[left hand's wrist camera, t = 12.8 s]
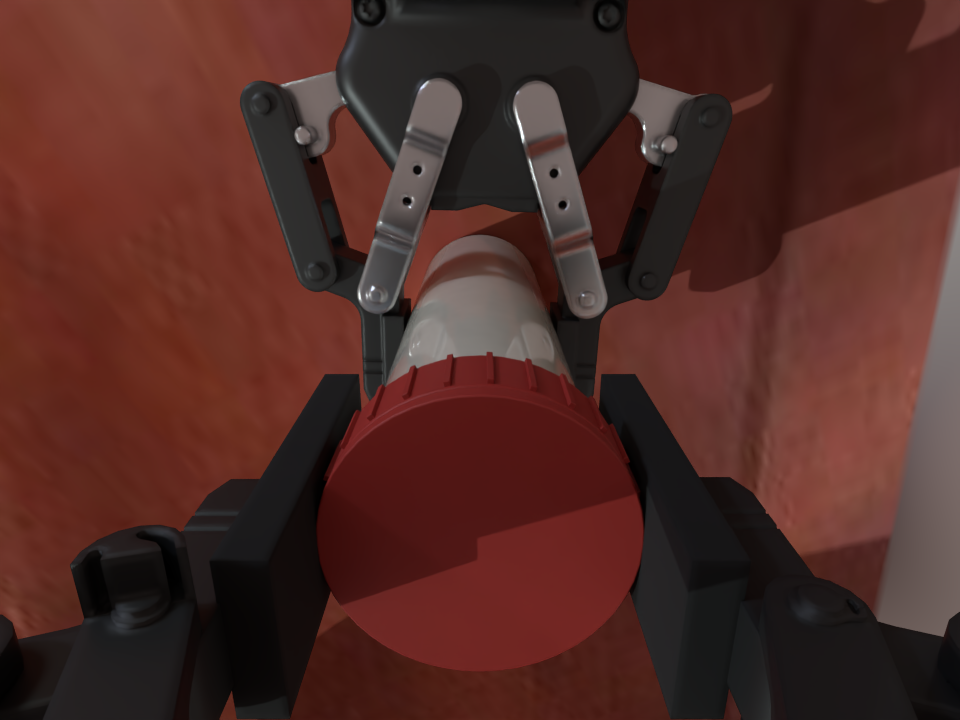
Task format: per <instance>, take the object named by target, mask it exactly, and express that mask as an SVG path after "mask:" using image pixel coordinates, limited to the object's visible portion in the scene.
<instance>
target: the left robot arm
mask: <svg viewBox="0 0 960 720" xmlns="http://www.w3.org/2000/svg"><path fill="white" fill-rule="evenodd" d="M356 410H358V411H360V412H361V397H360V383H359V374H325V375H324V377H323V379H322V380H321V382H320V383H319V385H318V387H317V388H316V390H315V392H314V393H313V395H312V396H311V398H310V400H309V401H308V403H307V404H306V406H305V408H304V409H303V411H302V412H301V414H300V416H299V417H298V419H297V420H296V422H295V424H294V425H293V427H292V428H291V430H290V432H289V433H288V435H287V437H286V438H285V440H284V441H283V443H282V445H281V446H280V448H279V449H278V451H277V453H276V454H275V456H274V457H273V459H272V461H271V462H270V464H269V465H268V467H267V469H266V470H265V472H264V473H263V475H262V477H261V478H260V479H231V480H229V481H228V482H226V483H225V484H223V485H222V486H220V487H219V488H217V489H216V490H214V491H213V492H211V493H210V494H208V496H207V497H206V498H205V500H204V501H203V503H202V504H201V505H200V507H199V508H198V509H197V511H196V512H195V516H192V517H191V519H190V520H189V522H188V523H187V524H186V526H185V527H184V531H181V532H179V531H178V530H177V529H176V528H172V527H167V526H163V525H146V526H137V527H133V528H129V529H125V530H120V531H117V532H115V533H113V534H110V535H108V536H106V537H103V538H101V539H99V540H97V541H95V542H94V543H93V544H91V545H90V546H88V547H87V548H85V549H84V550H82V551H81V552H80V553H79V554H78V556H77V557H76V558H75V559H74V560H73V562H72V563H71V564H70V567H71V571H72V574H73V578H74V582H75V585H76V589H77V593H78V597H79V600H80V604H81V608H82V612H83V615H84V620H83V623H82V625H78V626H75V627H71V628H68V629H63V630H59V631H54V632H50V633H45V634H41V635H36V636H32V637H27V638H23V639H17V636H16V633H15V630H14V626H13V623H12V622H11V621H10V620H8V619H7V618H6V617H5V616H3V615H0V720H219V718H220V716H221V714H222V711H223V709H224V707H225V705H226V702H227V700H228V698H229V695H230V693H231V691H232V694H233V699H234V705H235V711H236V716H237V719H290V717H291V714H292V710H293V707H294V704H295V701H296V698H297V695H298V692H299V689H300V685H301V682H302V679H303V676H304V673H305V670H306V667H307V664H308V660H309V657H310V654H311V651H312V648H313V645H314V642H315V639H316V636H317V632H318V629H319V626H320V623H321V620H322V617H323V614H324V611H325V607H326V604H327V601H328V598H329V595H330V592H331V590H330V588H329V586H328V584H327V582H326V580H325V577H324V574H323V571H322V568H321V565H320V562H319V555H318V546H317V536H316V521H317V513H318V507H319V503H320V500H321V497H322V493H323V490H324V487H325V485H326V483H327V481H325V480H323V478H324V475H325V473H326V471H327V469H328V466H329V464H330V462H331V460H332V457H333V455H334V453H335V451H336V448H337V446H338V444H339V442H340V440H343V438H344V436H345V433H346V431H347V429H348V426H349V424H350V422H351V420H352V417H353V415H354V413H355V412H356ZM599 411H600V413H601V414H602V416H603V418H604V419H605V421H606V422H607V424H608V425H610V424H613V425H614V427H615V429H616V432H617V434H618V436H619V438H620V441H621V443H622V445H623V447H624V449H625V452H626V454H627V456H628V458H629V461H630V462H629V463H628V464H629V467H630V469H631V471H632V473H633V476H634V478H635V480H636V483H637V485H638V487H639V489H640V497H639V498H640V502H641V505H642V509H643V517H644V540H643V550H642V558H641V564H640V567H639V569H638V572H637V575H636V578H635V581H634V583H633V585H632V587H631V588H630V590H629V591H630V594H631V597H632V600H633V603H634V606H635V609H636V612H637V616H638V619H639V622H640V625H641V628H642V631H643V634H644V637H645V641H646V644H647V647H648V650H649V653H650V656H651V659H652V662H653V665H654V669H655V672H656V675H657V678H658V681H659V684H660V687H661V690H662V694H663V697H664V700H665V703H666V706H667V709H668V712H669V715H670V719H724V713H725V707H726V702H727V696H728V690H729V689H730V691H731V694H732V696H733V698H734V700H735V703H736V705H737V707H738V709H739V712H740V714H741V720H960V612H959V613H957V614H956V615H955V616H953V617H952V618H951V619H950V620H949V622H948V625H947V628H946V631H945V634H944V637H941V636H936V635H932V634H927V633H923V632H918V631H913V630H909V629H905V628H900V627H895V626H892V625H888V624H885V623H881V622H878V621H877V619H876V617H875V616H874V614H873V613H872V611H871V610H870V609H869V607H868V606H867V604H866V603H865V602H863V601H862V600H861V599H860V598H858V597H857V596H856V595H855V594H853V593H852V592H851V591H849V590H847V589H845V588H843V587H841V586H839V585H837V584H835V583H833V582H831V581H828V580H824V579H821V578H817V577H815V576H814V575H813V574H812V572H811V571H810V570H809V568H808V567H807V565H806V564H805V563H804V561H803V560H802V559H801V557H800V556H799V555H798V553H797V552H796V551H795V549H794V548H793V547H792V545H791V544H790V543H789V541H788V540H787V539H786V537H785V536H784V534H783V533H782V532H781V530H780V529H777V527H776V526H777V525H776V524H775V522H774V521H773V520H772V518H771V517H770V516H769V514H766V510H765V509H764V507H763V506H762V505H761V503H760V502H759V501H758V499H757V498H756V497H755V495H754V494H753V493H752V492H751V491H749V490H748V489H746V488H745V487H743V486H742V485H741V484H739V483H738V482H736V481H735V480H733V479H732V478H730V477H699V476H698V474H697V473H696V471H695V470H694V468H693V466H692V465H691V463H690V462H689V460H688V458H687V457H686V455H685V454H684V452H683V450H682V449H681V447H680V445H679V444H678V442H677V441H676V439H675V437H674V436H673V434H672V433H671V431H670V429H669V428H668V426H667V425H666V423H665V421H664V420H663V418H662V417H661V415H660V413H659V412H658V410H657V409H656V407H655V405H654V404H653V402H652V401H651V399H650V397H649V396H648V394H647V392H646V391H645V389H644V388H643V386H642V384H641V383H640V381H639V380H638V378H637V376H636V375H635V374H601V389H600V403H599Z"/></svg>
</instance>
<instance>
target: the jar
mask: <svg viewBox="0 0 960 720" xmlns="http://www.w3.org/2000/svg"><path fill="white" fill-rule="evenodd" d="M487 352H493V356H500V357H506V358H511V359H516V360H521V361H524V362H525V359H526V358H528V359H531V360H532V364H533V365H536V366H540V367H542V368H544V369H546V370H548V371H550V372H552V373H554V374H556V375H558V376H560V374H561V373H563V374H564V375H566V376H567V379H568V382H569V383H570V384H572V385H574V386H575V387H576V385H575V382H574V380H573V377H572V374H571V371H570V369H569V366H568V363H567V361H566V358H565V355H564V352H563V350H562V347H561V344H560V342H559V339H558V336H557V333H556V331H555V328H554V325H553V323H552V320H551V317H550V314H549V312H548V309H547V306H546V304H545V301H544V298H543V295H542V293H541V290H540V287H539V285H538V282H537V279H536V276H535V274H534V271H533V269H532V267H531V265H530V263H529V261H528V260H527V258H526V257H525V256H524V255H523V253H522V252H521V251H520V250H518V249H517V248H516V247H515V246H513V245H512V244H510V243H509V242H507V241H505V240H503V239H500V238H497V237H493V236H489V235H472V236H467V237H463V238H460V239H457V240H455V241H453V242H451V243H450V244H448V245H447V246H445V247H444V248H443V249H442V250H441V251H439V252H438V254H437V255H436V256H435V257H434V258H433V260H432V262H431V263H430V265H429V267H428V269H427V271H426V274H425V277H424V280H423V282H422V285H421V288H420V291H419V293H418V296H417V299H416V301H415V304H414V307H413V310H412V312H411V315H410V318H409V321H408V323H407V326H406V329H405V331H404V334H403V337H402V340H401V342H400V345H399V348H398V351H397V353H396V356H395V359H394V361H393V364H392V367H391V370H390V372H389V375H388V378H387V380H386V383H385V387H386V386H387V385H388V384H390V383H391V382H393V381H395V380H396V379H398V378H399V377H401V376H402V375H404V374H406V373H408V372H409V369H410V367H411V366H413V365H415V366H416V367H417V368H419V367H421V366H424V365H427V364H430V363H433V362H436V361H440V360H444V359H447V355H449V354H453V357H454V358H455V357H460V356H476V355H485V356H486V353H487Z"/></svg>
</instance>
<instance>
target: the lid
mask: <svg viewBox="0 0 960 720" xmlns="http://www.w3.org/2000/svg"><path fill="white" fill-rule="evenodd" d="M629 462H630V461H629V458H628V456H627V454H626V452H625V449H624V447H623V445H622V443H621V441H620V438H619V436H618V434H617V432H616V429H615V427H614V425H613V424H610V425H608V424H607V422H606V421H605V419H604V418H603V416H602V414H601V413H600V411H599V408H598V406H597V404H596V401H595V399H594V398H593V397H592V396H590V397H589V398H587V397H586V396H585V395H584V394H583V393H582V392H580V391H579V390H578V389H577V388H576V387H575V386H574V385H572V384H570V383H569V382H568V379H567V376H566V375H564V374H563V373H561V374H560V376H558V375H556V374H554V373H552V372H550V371H548V370H546V369H544V368H542V367H540V366H536V365H533V364H532V360H531V359H528V358H526V359H525V362H524V361H521V360H516V359H511V358H506V357H500V356H493V352H487V353H486V356H485V355H476V356H460V357H455V358H454V357H453V354H449V355H447V359H444V360H440V361H436V362H433V363H430V364H427V365H424V366H421V367H419V368H417V367H416V366H415V365H413V366H411V367H410V369H409V372H408V373H406V374H404V375H402V376H401V377H399V378H398V379H396V380H395V381H393V382H391V383H390V384H388V385H387V386H386V387H385V386H384V385H383V384H382V385H380V386H379V387H378V389H377V392H376V395H375V396H374V397H373V398H372V399H371V400H370V402H369V403H368V404H367V405H366V406H365V407H364V408H363V409H362V411H361V412H360V411H358V410H356V412H355V413H354V415H353V417H352V420H351V422H350V424H349V426H348V429H347V431H346V433H345V436H344V438H343V440H340V442H339V444H338V446H337V448H336V451H335V453H334V455H333V457H332V460H331V462H330V464H329V466H328V469H327V471H326V473H325V475H324V478H323V480H325V481H327V483H326V485H325V487H324V490H323V493H322V497H321V500H320V503H319V507H318V513H317V521H316V536H317V546H318V555H319V562H320V565H321V568H322V571H323V574H324V577H325V580H326V582H327V584H328V586H329V588H330V590H331V592H332V594H333V595H334V597H335V598H336V600H337V601H338V603H339V604H340V606H341V607H342V608H343V610H344V611H345V612H346V613H347V614H348V616H349V617H350V618H351V619H352V620H353V621H354V622H355V623H356V624H357V625H358V626H359V627H360V628H361V629H363V630H364V631H365V632H366V633H367V634H368V635H370V636H371V637H372V638H374V639H375V640H377V641H378V642H380V643H381V644H383V645H384V646H386V647H388V648H390V649H392V650H394V651H396V652H397V653H399V654H401V655H403V656H406V657H409V658H411V659H414V660H416V661H419V662H422V663H426V664H429V665H433V666H437V667H441V668H447V669H453V670H460V671H478V672H481V671H500V670H507V669H514V668H519V667H523V666H527V665H531V664H535V663H539V662H541V661H544V660H547V659H549V658H552V657H555V656H557V655H559V654H561V653H563V652H565V651H567V650H569V649H571V648H573V647H574V646H576V645H577V644H579V643H580V642H582V641H584V640H585V639H587V638H588V637H589V636H591V635H592V634H593V633H594V632H595V631H597V630H598V629H599V628H600V627H601V626H603V625H604V624H605V622H606V621H607V620H608V619H609V618H610V617H611V616H612V615H613V614H614V613H615V612H616V610H617V609H618V608H619V606H620V605H621V603H622V602H623V601H624V599H625V598H626V596H627V594H628V592H629V590H630V588H631V587H632V585H633V583H634V581H635V578H636V575H637V572H638V569H639V567H640V564H641V558H642V550H643V540H644V517H643V509H642V505H641V502H640V498H639V497H640V489H639V487H638V485H637V483H636V480H635V478H634V476H633V473H632V471H631V469H630V467H629V464H628V463H629Z"/></svg>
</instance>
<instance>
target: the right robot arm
mask: <svg viewBox="0 0 960 720" xmlns="http://www.w3.org/2000/svg"><path fill="white" fill-rule="evenodd" d="M351 5H352V17H351V25H350V30H349V34H348V38H347V41H346V43H345V46H344V48H343V50H342V52H341V54H340V56H339V58H338V61H337V65H336V71H333V72H329V73H325V74H321V75H317V76H313V77H309V78H306V79H302V80H298V81H294V82H290V83H286V84H282V85H280V84H275V83H270V82H265V81H254V82H252V83H250V84H248V85H247V86H246V87H245V88H244V90H243V91H242V94H241V97H240V106H241V110H242V113H243V116H244V119H245V122H246V125H247V128H248V131H249V134H250V137H251V140H252V143H253V146H254V149H255V152H256V155H257V158H258V161H259V164H260V167H261V170H262V173H263V176H264V179H265V182H266V185H267V188H268V191H269V194H270V197H271V200H272V203H273V206H274V209H275V212H276V215H277V218H278V221H279V224H280V227H281V230H282V233H283V236H284V239H285V242H286V245H287V248H288V251H289V254H290V257H291V260H292V263H293V266H294V269H295V272H296V275H297V278H298V280H299V282H300V283H301V284H302V285H303V286H304V287H305V288H307V289H308V290H311V291H315V292H321V291H328V292H331V293H333V294H336V295H339V296H342V297H344V298H346V299H348V300H350V301H351V302H352V303H353V304H354V305H355V306H356V307H357V309H358V311H359V313H360V316H361V330H362V354H363V372H364V373H363V378H364V390H365V392H366V394H367V396H368V399H369V401H370V400H371V399H372V398H373V397H374V396H375V395H376V392H377V389H378V387H379V386H380V385H382V384H383V385H384V386H385V383H386V380H387V378H388V375H389V372H390V370H391V367H392V364H393V361H394V359H395V356H396V353H397V351H398V348H399V345H400V342H401V340H402V337H403V334H404V331H405V329H406V326H407V323H408V321H409V318H410V315H411V299H407V298H404V283H405V281H406V278H407V275H408V272H409V269H410V266H411V263H412V261H413V258H414V255H415V252H416V249H417V246H418V243H419V240H420V238H421V235H422V232H423V230H424V227H425V224H426V222H427V219H428V216H429V213H430V210H461V209H465V208H469V207H473V206H477V205H481V204H487V205H491V206H494V207H497V208H501V209H504V210H507V211H511V212H537V215H538V219H539V222H540V225H541V228H542V232H543V234H544V237H545V240H546V243H547V247H548V250H549V254H550V257H551V261H552V264H553V267H554V271H555V274H556V278H557V281H558V285H559V286H558V301H557V303H556V302H551V304H550V317H551V320H552V323H553V325H554V328H555V331H556V333H557V336H558V339H559V342H560V344H561V347H562V350H563V352H564V355H565V358H566V361H567V363H568V366H569V369H570V371H571V374H572V377H573V380H574V382H575V385H576V388H577V389H578V390H579V391H580V392H582V393H583V394H584V395H585V396H586V397H587V398H589V397H590V396H593V395H594V384H595V373H596V362H597V351H598V340H599V329H600V323H601V320H602V318H603V316H604V314H605V313H606V312H607V311H608V310H609V309H610V308H612V307H613V306H615V305H618V304H620V303H624V302H627V301H630V300H633V299H636V298H638V299H641V300H653V299H656V298H657V297H659V296H660V295H662V294H663V293H664V291H665V290H666V288H667V286H668V283H669V281H670V278H671V276H672V273H673V270H674V268H675V265H676V263H677V260H678V258H679V255H680V252H681V250H682V247H683V245H684V242H685V240H686V237H687V234H688V232H689V229H690V227H691V224H692V221H693V219H694V216H695V214H696V211H697V209H698V206H699V203H700V201H701V198H702V196H703V193H704V191H705V188H706V185H707V183H708V180H709V178H710V175H711V173H712V170H713V167H714V165H715V162H716V160H717V157H718V155H719V152H720V149H721V147H722V144H723V142H724V139H725V137H726V134H727V131H728V129H729V126H730V124H731V121H732V108H731V105H730V103H729V102H728V100H727V99H726V98H724V97H723V96H721V95H718V94H698V95H690V94H687V93H684V92H680V91H677V90H674V89H671V88H668V87H664V86H661V85H658V84H655V83H652V82H648V81H645V80H642V79H639V71H638V67H637V64H636V61H635V59H634V57H633V54H632V52H631V49H630V45H629V41H628V36H627V23H626V22H627V9H628V0H351ZM346 107H347V109H348V110H349V112H350V113H351V114H352V116H353V117H354V119H355V120H356V121H357V123H358V124H359V126H360V127H361V128H362V130H363V131H364V133H365V134H366V136H367V137H368V138H369V140H370V141H371V143H372V144H373V145H374V147H375V148H376V150H377V151H378V152H379V154H380V155H381V157H382V158H383V160H384V161H385V162H386V164H387V165H388V167H389V168H390V169H391V171H392V172H393V175H392V178H391V181H390V184H389V187H388V190H387V193H386V196H385V200H384V203H383V206H382V209H381V212H380V215H379V218H378V221H377V225H376V228H375V235H374V239H373V242H372V245H371V249H370V252H369V255H367V254H365V253H362V252H360V251H357V250H354V249H352V248H349V245H348V242H347V238H346V235H345V232H344V228H343V225H342V222H341V218H340V215H339V212H338V208H337V205H336V202H335V198H334V195H333V192H332V188H331V185H330V182H329V178H328V175H327V172H326V168H325V165H324V162H323V158H322V155H324V154H327V153H328V152H329V151H331V149H332V148H333V147H334V145H335V142H336V131H335V122H336V118H337V116H338V114H339V113H340V112H341V111H342V110H343V109H344V108H346ZM626 115H628V116H629V117H630V118H631V119H632V120H633V121H634V123H635V126H636V131H637V134H636V140H635V150H636V153H637V155H638V157H639V158H640V159H641V160H642V161H644V162H646V163H648V165H647V168H646V170H645V173H644V176H643V179H642V182H641V184H640V187H639V190H638V193H637V196H636V199H635V201H634V204H633V207H632V210H631V213H630V216H629V218H628V221H627V224H626V227H625V230H624V233H623V235H622V238H621V241H620V244H619V247H618V249H617V252H616V254H614V255H611V256H608V257H605V258H602V259H599V260H598V259H597V255H596V251H595V247H594V243H593V233H592V228H591V224H590V221H589V217H588V213H587V209H586V205H585V202H584V198H583V194H582V190H581V187H580V183H579V179H578V176H579V175H580V173H581V172H582V171H583V170H584V168H585V167H586V166H587V165H588V163H589V162H590V161H591V159H592V158H593V157H594V156H595V154H596V153H597V152H598V151H599V149H600V148H601V147H602V145H603V144H604V143H605V142H606V140H607V139H608V138H609V136H610V135H611V134H612V133H613V131H614V130H615V129H616V128H617V126H618V125H619V124H620V122H621V121H622V120H623V119H624V117H625V116H626Z"/></svg>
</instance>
